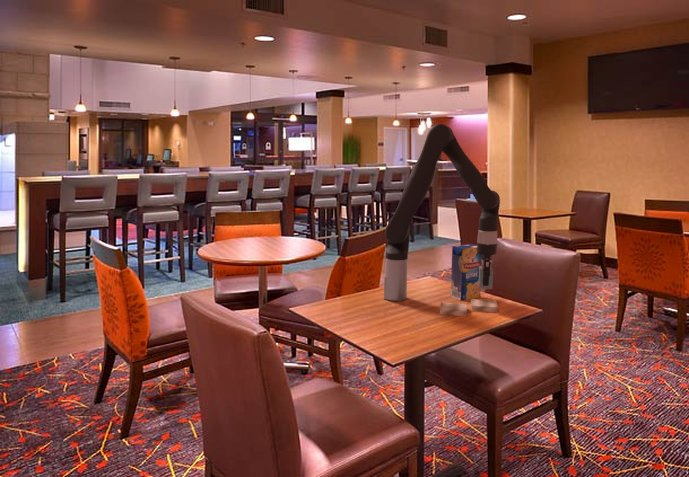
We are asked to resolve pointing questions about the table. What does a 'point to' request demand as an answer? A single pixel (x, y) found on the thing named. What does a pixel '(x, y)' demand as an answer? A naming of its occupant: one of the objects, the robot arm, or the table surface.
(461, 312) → the stand
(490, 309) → the stand
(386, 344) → the table surface
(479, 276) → the block
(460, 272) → the blue food carton
